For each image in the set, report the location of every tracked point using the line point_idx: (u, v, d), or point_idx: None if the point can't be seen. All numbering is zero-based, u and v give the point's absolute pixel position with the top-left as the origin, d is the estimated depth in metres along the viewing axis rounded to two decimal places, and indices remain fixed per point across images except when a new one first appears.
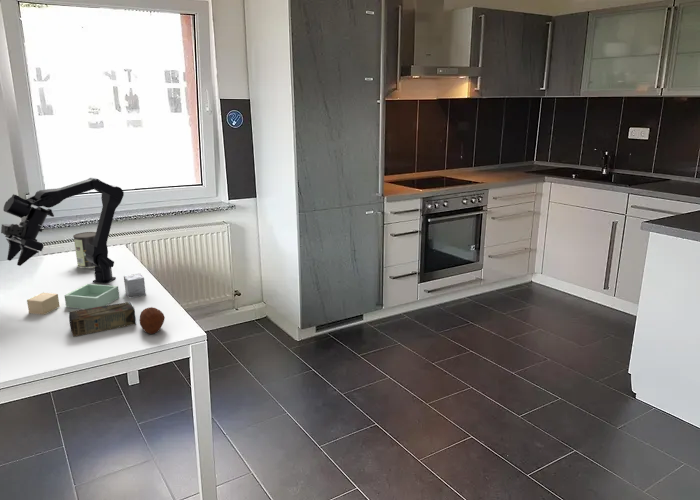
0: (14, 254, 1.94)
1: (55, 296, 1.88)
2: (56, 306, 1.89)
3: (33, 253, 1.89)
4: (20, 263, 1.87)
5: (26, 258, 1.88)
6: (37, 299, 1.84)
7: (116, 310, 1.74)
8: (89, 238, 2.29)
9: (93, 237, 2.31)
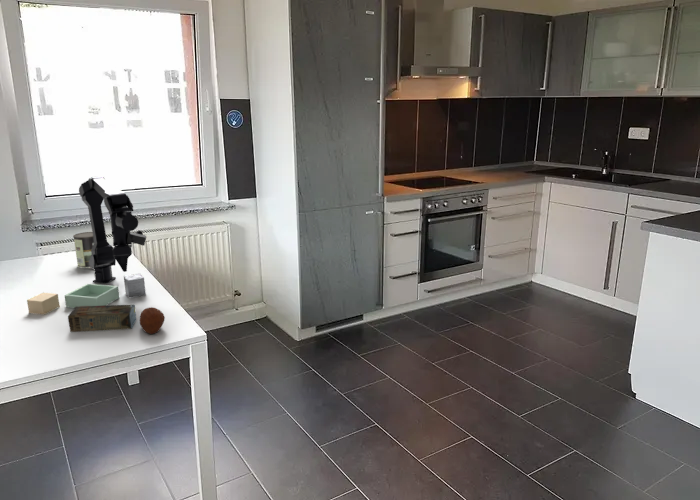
0: None
1: (55, 296, 1.88)
2: (56, 306, 1.89)
3: None
4: None
5: None
6: (37, 299, 1.84)
7: (114, 311, 1.72)
8: (89, 238, 2.29)
9: None
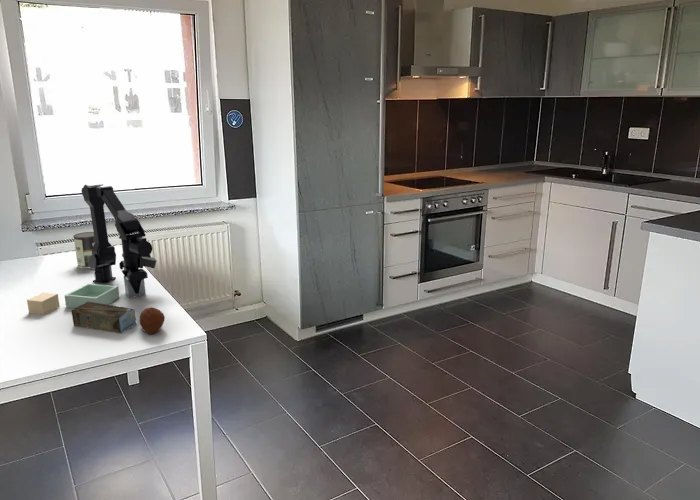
0: None
1: (55, 296, 1.88)
2: (56, 306, 1.89)
3: None
4: None
5: None
6: (37, 299, 1.84)
7: (109, 313, 1.71)
8: (89, 238, 2.29)
9: (93, 237, 2.31)
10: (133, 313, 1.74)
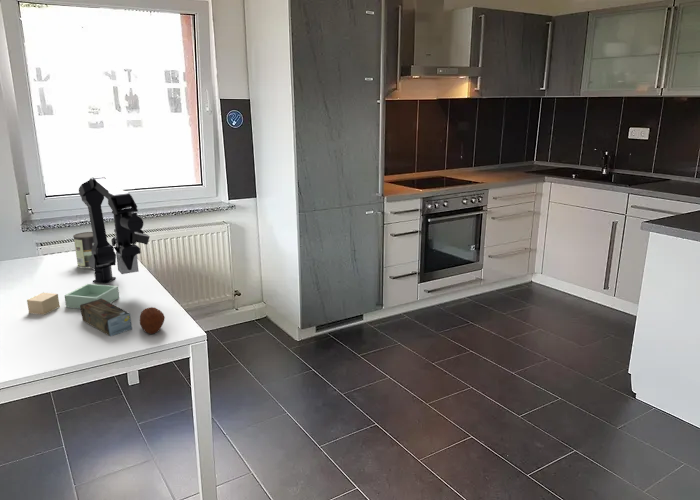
0: None
1: (55, 296, 1.88)
2: (56, 306, 1.89)
3: None
4: None
5: None
6: (37, 299, 1.84)
7: (105, 314, 1.70)
8: (89, 238, 2.29)
9: None
10: (127, 317, 1.71)
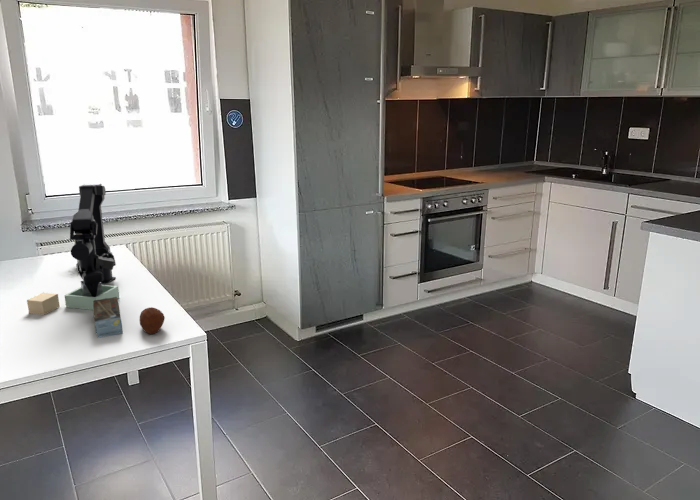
0: None
1: (55, 296, 1.88)
2: (56, 306, 1.89)
3: None
4: None
5: None
6: (37, 299, 1.84)
7: (101, 314, 1.70)
8: None
9: None
10: (117, 321, 1.68)
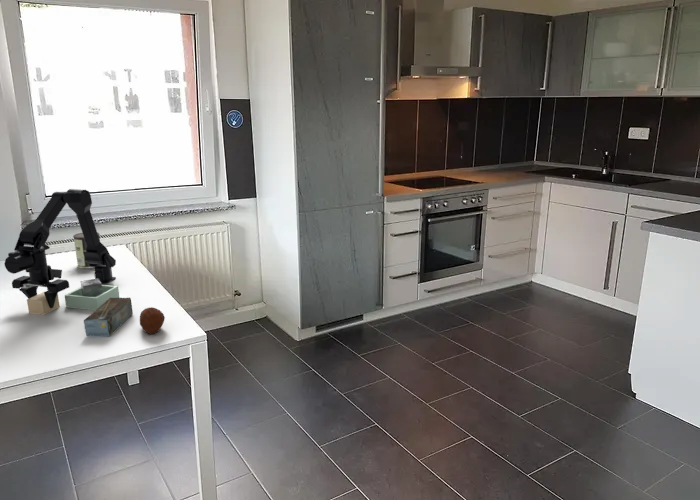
0: None
1: None
2: (56, 306, 1.89)
3: None
4: None
5: None
6: (37, 299, 1.84)
7: (97, 313, 1.71)
8: None
9: None
10: (104, 323, 1.66)
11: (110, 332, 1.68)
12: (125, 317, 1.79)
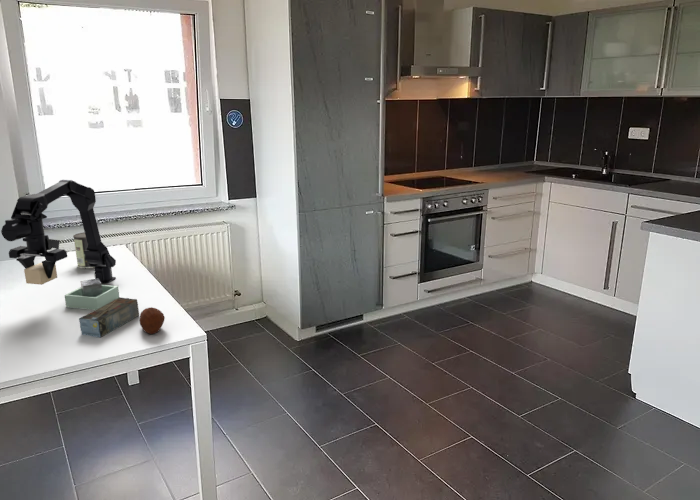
0: None
1: None
2: (54, 276, 1.86)
3: None
4: None
5: None
6: (34, 268, 1.81)
7: (96, 312, 1.71)
8: None
9: None
10: (95, 324, 1.65)
11: (102, 333, 1.67)
12: (126, 319, 1.77)
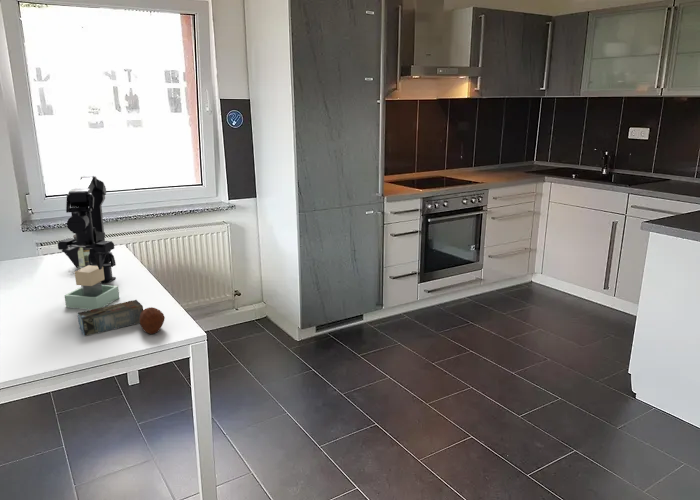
0: None
1: None
2: (101, 278, 1.94)
3: None
4: None
5: None
6: (84, 271, 1.89)
7: (96, 310, 1.73)
8: None
9: None
10: (81, 322, 1.67)
11: (87, 332, 1.68)
12: (124, 323, 1.74)
